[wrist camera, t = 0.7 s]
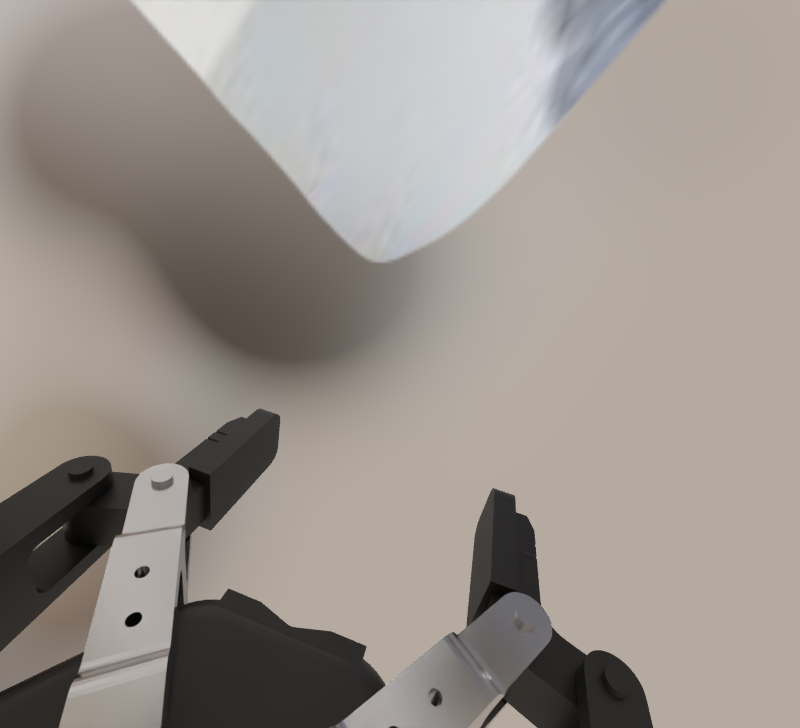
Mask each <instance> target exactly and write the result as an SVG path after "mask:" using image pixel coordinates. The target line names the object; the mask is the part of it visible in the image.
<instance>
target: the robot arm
mask: <svg viewBox="0 0 800 728" xmlns="http://www.w3.org/2000/svg"><path fill="white" fill-rule="evenodd" d="M279 427H280V416H279V415H277V414H274V413H272V412H268V411H265V410H262V409H258V410H256V411H255V412H254V413H253V414H251V415H250V416H249V417H248V418H247V419H246V418H243V417H240V418H238V419H235V420H232V421H230V422H227V423H226V424H225V425H224V426H222V427H221V428H220V429H218V430H217V432H216V433H213V434H212V435H211V436H209V437H208V439H206V440H204V441H203V442H202V443H201V444H199V445H198V446H197V447H196V448H194V449H193V450H192V451H190V452H189V453H188V454H187V455H185V456H184V457H183V458H182V459H180V460H179V461H178V462H177V463H175V464H170V463H169V464H160V465H156V466H153V467H151V468H148V469H147V470H145V471H143V472H142V473H141V474H131V473H120V472H112V468H111V464H110V462H109V461H108V460H107V459H106V458H103V457H99V456H84V457H79V458H75V459H72V460H69V461H67V462H65V463H63V464H61V465H60V466H58V467H57V468H55V469H53V470H52V471H50V472H49V473H47V474H45V475H44V476H42V477H41V478H39V479H38V480H36V481H34V482H33V483H31V484H30V485H28V486H27V487H25V488H23V489H22V490H20V491H19V492H17V493H16V494H14V495H12V496H11V497H10V498H8V499H6V500H5V501H3V502H1V503H0V652H1V650H3V649H4V648H5V647H6V646H7V645H8V644H9V643H10V642H11V641H12V640H13V639H14V638H15V637H16V636H17V635H18V634H20V633H21V632H22V631H23V630H24V629H25V628H26V627H27V626H28V625H29V624H30V623H31V622H32V621H33V620H34V619H35V618H36V617H37V616H39V614H41V613H42V612H43V611H44V610H45V609H46V608H47V607H48V606H49V605H50V604H51V603H52V602H53V601H54V600H55V599H56V598H57V597H59V596H60V595H61V594H62V593H63V592H64V591H65V590H66V589H67V588H68V587H69V586H70V585H71V584H72V583H73V582H74V581H75V580H76V579H77V578H79V577H80V576H81V575H82V574H83V573H84V572H85V571H86V570H87V569H88V568H89V567H90V566H91V565H92V564H93V563H94V562H95V561H97V559H99V558H100V557H101V556H102V555H103V554H104V553H105V552H106V551H107V550H108V549H109V548H110V547H111V546H112V548H111V552H110V556H109V560H108V563H107V567H106V571H105V575H104V578H103V582H102V586H101V590H100V594H99V598H98V601H97V605H96V609H95V613H94V617H93V620H92V624H91V628H90V632H89V636H88V640H87V643H86V647H85V651H84V652H82V653H80V654H78V655H76V656H74V657H72V658H70V659H68V660H66V661H64V662H62V663H60V664H57V665H56V666H54V667H51V668H49V669H47V670H45V671H43V672H41V673H39V674H37V675H35V676H33V677H30V678H28V679H26V680H24V681H22V682H20V683H18V684H16V685H14V686H12V687H10V688H8V689H6V690H4V691H1V692H0V728H488V727H489V725H490V724H491V723H492V722H493V721H494V719H495V718H496V717H497V716H498V715H499V714H500V712H502V710H503V709H504V708H505V707H506V706H507V705H508V703H509V704H510V705H511V706H513V707H514V708H515V709H516V710H517V711H518V712H519V713H521V714H522V715H523V716H524V717H525V718H527V719H528V720H529V721H530V722H531V723H532V724H534V725H535V726H536V727H537V728H653V725H652V721H651V717H650V713H649V708H648V704H647V700H646V696H645V693H644V690H643V688H642V686H641V684H640V682H639V680H638V679H637V677H636V676H635V674H634V673H633V672H632V671H631V669H630V668H629V667H628V666H627V665H626V664H625V663H624V662H622V661H621V660H620V659H618V658H617V657H616V656H614V655H612V654H610V653H608V652H605V651H600V650H597V651H596V650H595V651H592V652H590V653H589V654H588V655H586V654H584V653H583V652H581V651H580V650H579V649H577V648H576V647H574V646H573V645H572V644H570V643H569V642H567V641H566V640H565V639H564V638H562V637H561V636H560V635H559V634H558V633H557V632H556V631H555V630H554V629H553V628H552V626H551V622H550V619H549V617H548V615H547V613H546V612H545V610H544V609H543V608H542V607H541V602H540V591H539V580H538V570H537V569H538V568H537V559H536V547H535V534H534V529H533V527H532V525H531V523H530V521H529V519H528V518H527V516H525V515H522V514H519V513H516V507H515V496H514V495H512V494H509V493H505V492H503V491H500V490H497V489H494V488H493V489H492V490H491V492H490V495H489V497H488V500H487V502H486V504H485V507H484V509H483V512H482V514H481V516H480V519H479V522H478V525H477V529H476V533H475V540H474V551H473V561H472V572H471V584H470V594H469V605H468V617H467V627H466V628H465V629H464V630H463V631H462V632H461V633H459V634H457V635H456V634H455V633H454V632H452V633H450V634H448V635H447V636H445V637H444V638H443V639H441V640H440V641H439V642H438V643H437V644H435V645H434V646H433V647H432V648H431V649H429V650H428V651H427V652H426V653H424V654H423V655H422V656H421V657H420V658H418V659H417V660H416V661H415V662H414V663H413V664H411V665H410V666H409V667H408V668H406V669H405V670H404V671H403V672H401V673H400V674H399V675H398V676H397V677H395V678H394V679H393V680H392V681H390V682H389V683H388V684H387V685H385V683H384V682H383V680H382V679H381V677H380V676H379V675H378V673H377V672H376V671H375V670H374V669H373V668H372V667H371V665H370V664H368V663H367V662H366V661H365V660H364V659H363V657H364V653H365V650H366V646H365V645H362V644H360V643H357V642H355V641H353V640H350V639H348V638H345V637H343V636H341V635H338V634H336V633H333V632H331V631H322V630H313V629H304V628H296V627H291V626H289V625H288V624H286V623H285V622H284V621H283V620H282V619H280V618H279V617H278V616H277V615H276V614H274V613H273V612H272V611H271V610H270V609H268V608H267V607H266V606H265V605H263V604H262V603H261V602H259V601H257V600H255V599H252V598H250V597H247V596H245V595H243V594H240V593H238V592H235V591H233V590H231V589H228V590H227V591H226V593H225V594H224V596H223V597H222V598H221V600H202V601H195V602H191V603H188V583H189V568H190V554H191V540H192V536H191V534H192V532H193V531H194V530H195V529H196V528H197V527H198V526H201V527H204V528H206V529H208V530H212V529H213V528H214V526H215V525H216V524H217V523H218V522H219V521H220V520H221V518H223V516H224V515H225V514H226V513H227V512H228V511H229V510H230V509H231V507H232V506H233V505H234V504H235V503H236V502H237V501H238V500H239V499H240V498H241V496H242V495H243V494H244V493H245V492H246V491H247V490H248V489H249V488H250V486H251V485H252V484H253V483H254V482H255V481H256V479H258V477H259V476H260V475H261V474H262V473H263V472H264V471H265V470H266V469H267V468H268V466H269V465H270V464H271V463H272V461H273V460H274V458H275V456H276V453H277V449H278V439H279ZM61 526H63V528H62V529H60V530H59V531H58V532H57V533H55V534H54V535H53V536H51V537H50V538H49V539H48V540H47V541H45V542H44V543H43V544H41V545H40V546H39V547H38V548H36V549H35V547H36V546H37V545H38V544H40V543H41V542H42V541H43V540H45V539H46V538H47V537H48V536H50V535H51V534H52V533H53V532H55V531H56V530H57V529H59V528H60V527H61ZM34 549H35V550H34ZM33 550H34V551H33ZM32 551H33V552H32Z"/></svg>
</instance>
